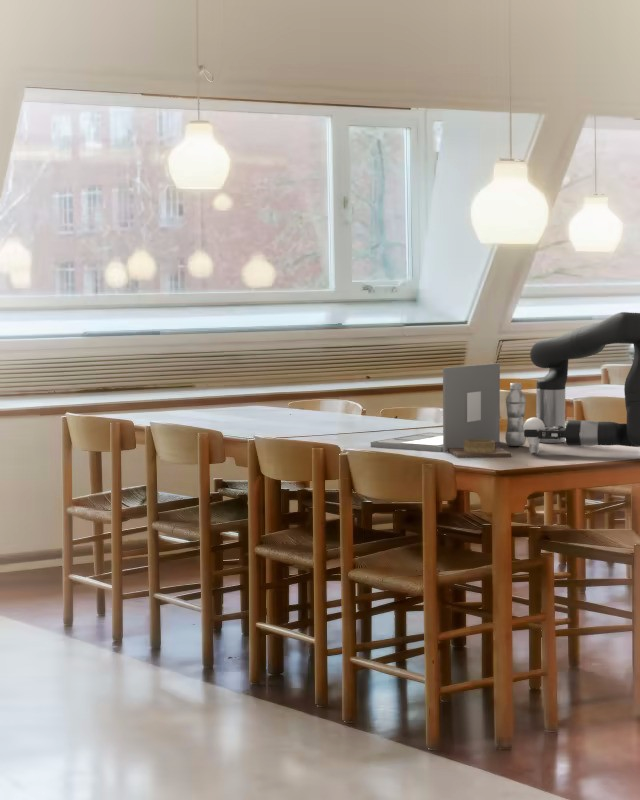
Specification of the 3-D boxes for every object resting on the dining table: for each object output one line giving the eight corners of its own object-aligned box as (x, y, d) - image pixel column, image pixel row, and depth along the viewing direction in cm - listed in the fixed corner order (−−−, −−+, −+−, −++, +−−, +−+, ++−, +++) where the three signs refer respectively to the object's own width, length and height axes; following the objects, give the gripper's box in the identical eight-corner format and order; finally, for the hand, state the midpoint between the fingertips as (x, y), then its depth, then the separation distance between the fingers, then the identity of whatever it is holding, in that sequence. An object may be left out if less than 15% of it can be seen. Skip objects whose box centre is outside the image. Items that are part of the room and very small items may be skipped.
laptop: (428, 438, 441) (428, 361, 439) (500, 442, 425) (500, 363, 423) (370, 447, 413) (370, 365, 411) (445, 453, 397) (445, 367, 395)
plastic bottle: (523, 445, 414) (524, 382, 413) (527, 447, 407) (528, 383, 406) (503, 445, 414) (503, 382, 412) (507, 447, 407) (507, 384, 406)
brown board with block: (448, 451, 398) (448, 438, 398) (500, 450, 399) (500, 437, 399) (457, 457, 382) (457, 444, 382) (511, 456, 383) (511, 443, 383)
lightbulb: (530, 455, 385) (530, 418, 384) (519, 453, 391) (518, 417, 390) (549, 454, 387) (548, 417, 387) (537, 452, 393) (536, 415, 392)
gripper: (585, 418, 391) (529, 417, 396) (580, 422, 377) (522, 421, 382) (585, 443, 391) (529, 441, 396) (580, 448, 377) (522, 447, 383)
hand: (526, 432), depth 389 cm, fingers closed on lightbulb, 6 cm apart
